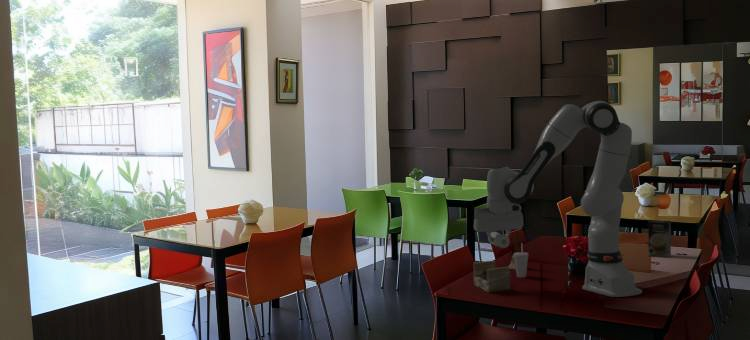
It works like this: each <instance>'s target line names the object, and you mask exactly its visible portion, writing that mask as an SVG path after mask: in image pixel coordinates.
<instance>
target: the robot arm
mask: <svg viewBox="0 0 750 340" xmlns="http://www.w3.org/2000/svg"><path fill="white" fill-rule="evenodd" d="M585 128H589V129H590V130H593V131H594V132H597V133H598V134H600V143H599V147H598V152H597V156H596V159H595V160H596V161H595V163H594V167H593V172H592V174H591V176H590V179H589V181H588V183H587V186H586V189H585V191H584V194H583V195H582V197H581V199H580V207H581V209H582V211H583V213H585V214H586V215H587V216H590V219H591V220H590V223H589V227H588V229H587V231H588V232H587V234H588V235H587V236H588V239H587V240H588V250H587V260H588V262H587V265H586V266H585V274H584V275H585V277H584V284H583V285H582V286H581V287H582V290H585V291H588V292H593V293H595V294H599V295H602V296H603V295H604V296H607V297H611V298H619V297H620V298H622V297H632V296H637V295H641V294H642V293H643V290H642V289H640V288H638V287H637V286H636V280H635V277H634V273H633V272H631V271H630V270H629V268H628V267H627V266H626V265H625V264H624V262H623V259H624V255H623V254H621V250H620V242H619V241H620V235H619V233H620V232H619V231H620V223H621V222H620V221H621V216H622V207H623V204H624V200H625V199H624V194H623V191H622V190H621V189H620V185H621V183H622V180H623V179H624V177H625V174H626V170H627V167H628V166H627V165H628V162H629V157H630V155H631V154H630V153H631V148H632V139H633V131H632V128H631V127H630V126H629V125H628V124H626V123H624V122H621V121H620V120H619V117H618V113H617V111H616V109H615V108H614V106H612V105H611V104H610V103H608V102H607V101H605V100H604V101H603V100H599V99H596V100H591V101H588V102H587V103H585V104H583V105H580V106H577V105H576V104H572V103H569V104H564V105H562V107H561V108H560V109H559V110H558V111H557V112H556V113H555V114H554V115H553V117H552V118H551V119H550V120H549V122H548V123H547V124H546V126H545V127H544V129H543V131H542V133H541V135H540V137H539V139H538V142H537V144H536V147H535V149H534V152H533V153H532V155H531V157H530V158H529V159H528V161H527V162H526V163H525V164H524V166H523V168H521V170H520V172H518V171H516V170H513V169H511V168H510V167H508V166H507V165H498V166H493V167H491V168H490V169H489V170H488V172H487V178H486V191H487V197H486V207H478V208H477V209H475V210H474V213H473V218H474V219H473V229H474V231H476V232H477V233H481V232H485V234H486V236H487V238H488V237H489V241H488V242H489V243H490V242H494V238H493V237H491V235H490V234H491V232H498V231H505V232H506V233H505V234H504V235H505V236H507V237H508V238H509V239H510V235H511V233H512V230H518V229H519V230H522V229H523V227H524V216H523V212H522V206H521V205H520V204H524V203H526V202H527V201H528V199H530V197H531V195H532V193H533V192H534V190H535V181H536V180H537V178H538V177H539V176H540V175H541V173H542V172H543V170H544V169H545V167H546V166H547V165H548V164H549V163H550V162H551V161H552V160H553V159H555V158H556V157H557V156H559V155H560V154H561V153H562V152H563V151H565V150H566V148H568V146H569V145H570V144H571V143H572V141H573V140H574V139H575V137H576V136H577V134H579V132H580V131H581V130H582V129H585Z"/></svg>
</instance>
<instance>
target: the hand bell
mask: <svg viewBox="0 0 750 340" xmlns="http://www.w3.org/2000/svg"><path fill="white" fill-rule="evenodd" d="M512 239H513V245H514V253H517V252H519V251H520V250H519V249H520V248H519V245H520V236H519V234H518V232H517V231H516V232H514V235H513V237H512ZM507 267H509V269H510V270H511V269H514V270H513V271H516V266H515V260H514V256H513V255H512V256H511V261H510V263H509V264H508V266H507Z"/></svg>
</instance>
